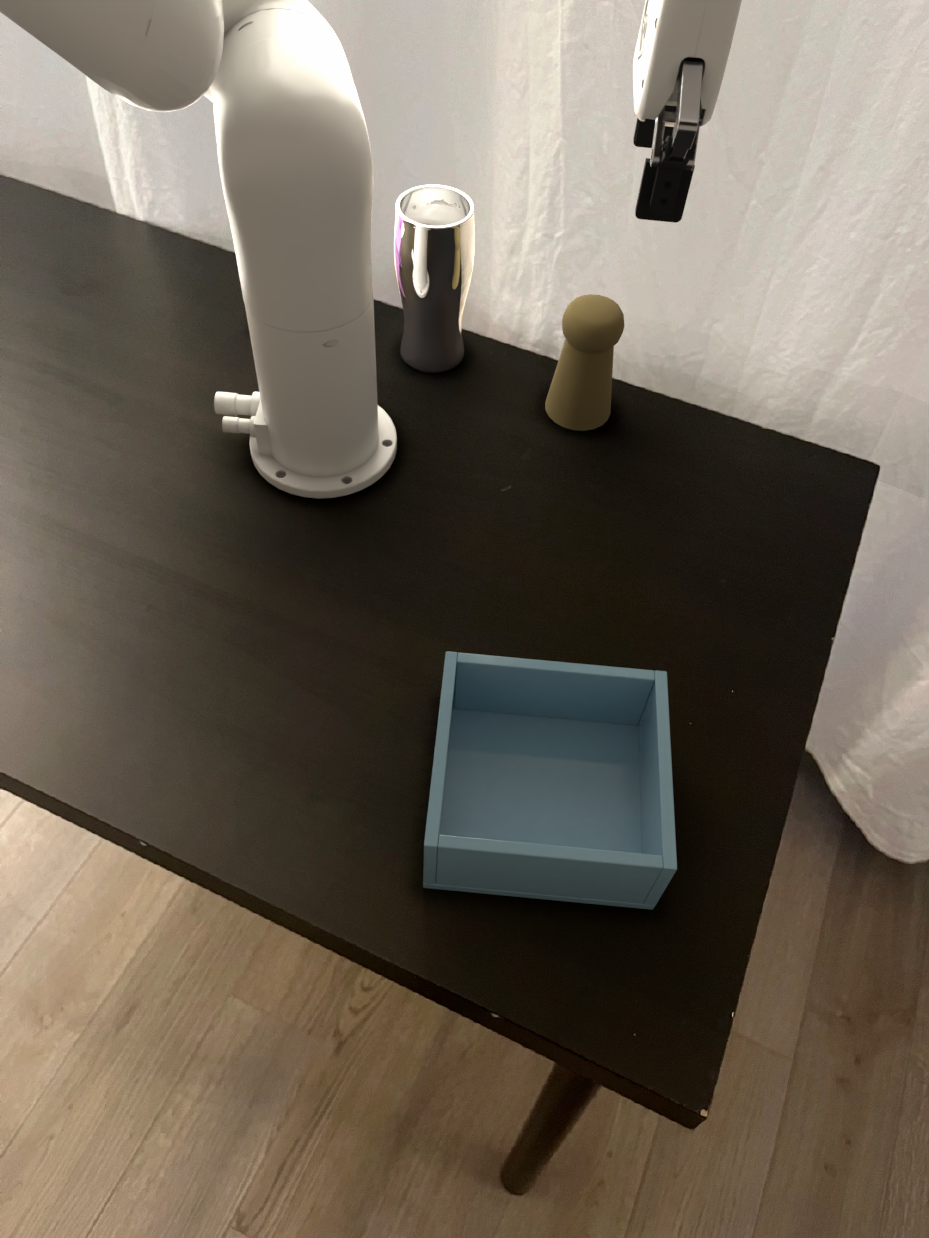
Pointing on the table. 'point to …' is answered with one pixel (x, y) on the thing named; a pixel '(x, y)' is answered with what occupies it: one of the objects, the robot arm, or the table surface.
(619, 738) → the blue open box
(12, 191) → the table surface
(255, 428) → the robot arm
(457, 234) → the beer glass
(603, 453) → the table surface
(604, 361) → the tan pawn
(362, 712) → the table surface
